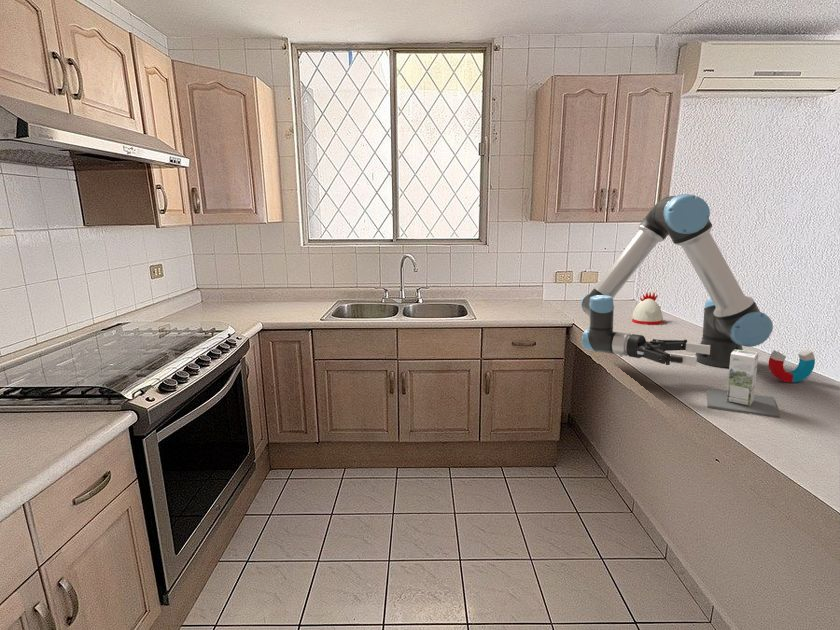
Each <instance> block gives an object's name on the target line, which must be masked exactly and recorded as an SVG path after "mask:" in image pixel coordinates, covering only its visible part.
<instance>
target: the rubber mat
mask: <svg viewBox="0 0 840 630" xmlns="http://www.w3.org/2000/svg"><path fill="white" fill-rule="evenodd" d="M706 389H707V390H706V401H707V404H706V405H707V406H706V407H707V409H714V408H715V409H716V410H721V409H723V410H722V411H728V410H730V412H735V411H737V413H742V412H743V414H749V413H752V414H751V415H756V414H757V416H764V417H772V418H780V414H779V410H778V408H777V406H776V405H777V404H776V402H775V399H774V397H773V396H771V395H770V396H769V395H761V394H754V400H753V402H752V404H751V405H750V406H746V405H741V404H736V403H731V402H727V390H720V389H714V388H713V389H711V388H706Z"/></svg>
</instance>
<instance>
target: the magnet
mask: <svg viewBox="0 0 840 630" xmlns="http://www.w3.org/2000/svg"><path fill="white" fill-rule="evenodd" d="M797 355H798V357H799V359H798V360H799V361H798V364H797V366H796V367H795V368H794V369H793V370H791V371H786V370H785V368H784V363H785V360H786V359H787V356H786V355H784V354H783V353H781V352H780V351H777V350H775V349H774V350H773V351H772V352H771V354H770V355H769V358H768V368H769V371H770V373H771V374H772V376H773V377H775V378H776V379H779V380H780V381H782V382H785V383H789V382H794V383H798V382H802V381H803V380H805V379H807V378H808V377H809V376H810V375H811V374H812V373H813V370H814V368H815V364H816V358H815V354H814V353H813V351H811V350H809V349H804V350H802V351H801V352H799V353H798V354H797Z"/></svg>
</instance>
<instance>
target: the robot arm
mask: <svg viewBox="0 0 840 630" xmlns="http://www.w3.org/2000/svg"><path fill="white" fill-rule="evenodd" d="M710 215H711V211H710V207H709V204H708V203H707V201H705V199H703V198H702V197H700V196H698V195H694V194H689V193H684V194H678V195H671V196H666V197H664V198H661V199H660V200H659V201H657V203H655V205H653V206H652V208H651V209H650V211H648V213H646V216H645V217H644V218H643V220H642V221H641V222H640V223H639V224H638V231H637V232H636V233H635V235H634V236H633V238H632V239H631V240H630V241H629V242H628V244H627V245H626V246H625V248H624V249H623V250H622V252H620V254H619V255H618V257H617V258H616V259H615V261H614V262H613V263H612V264H611V266H610V267H609V268H608V270H607V271H606V272H605V273H604V275H602V277H601V279H600V280H599V281H598V283H597V284H596V285H595V287H593V289H592V290H591V291H590V293H588V294H585V295H584V296H583V297H582V299H581V302H580V305H581V308H582V310H583V312H584V313H585V314H586V315H587V316H588V317H589V328H586V329H585V330H584V331H583V332H582V337H581V345H582V347H583V349H585V350H587V351H588V350H589V351H591V352H597V353H604V354H611V355H612V354H613V355H617V356H618V355H619V357H623V356H626V357H630V358H637V359H642V358H644V359H647V360H651V361H653V362H656V363H658V364H662V365H664V364H665V365H666V366H670V365H671V363H672V364H677V365H685V366H689V367H691V366H692V367H697V363H698V362H699V363H701V364H703V365H707V366H712V367H717V368H729V367H730V356H731V353H732V352H733V350H735V349H736V350H744V348H743V347H748V348H750V347H757V346H759V345H761V344H763V343H765V342H766V341H767V340H768V339H769V338H770V336H771V334H772V332H773V329H774V325H773V321H772V319H771V317H769V316H768V315H767V314H766V313H764V312H761V310H760V309H759V307H758V306H757V304H756V302H755V300H754V297H750V296H747V295H745V293H744V291H743V289H742V288H741V286H740V284H739V283H738V281H737V279H736V277H735V276H734V273H733V272H732V270H731V267H730V266H729V265H728V263H727V261H726V258H725V257H724V255H723V254H722V252H721V250H720V248H719V246H718V244H717V242H716V241H715V239H714V237H713V236H712V234H711V231H712V228H713V226H714V225H713V224H712V222H711V220H710ZM668 236H669V237H670V239H671V241H672V243H673V245H677V246H681V248H682V250H683V251H684V253H685V255H686V257H687V259H688V261H689V262H690V264H691V266H692V267H693V269H694V271H695V273H696V275H697V276H698V278H699V280H700V282H701V283H702V284H703V287H704V289H705V290H706V293H707V294H708V296H709V299H706V301H705V303H704V308H703V325H702V337H701V341H700V343H694V342H688V339H683V340H682V339H681V340H680V339H656V338H653V339H652V340H649V341H647V340H646V337H645V335H643V334H634V333H633V334H631V333H627V332H618V331H614V310H615V305H614V298H615V297H616V296H617V294H618V293H619V292H620V291H621V289H622V288H623V287H624V285H625V284H627V282H628V280H629V279H631V277H632V276H633V274H634V273H635V272H636V271H637V269H638V268H639V267H640V265H641V264H642V263H643V262H644V260H646V258H647V257H648V256H649V255H650V253H651V251H653V250H654V248H655V247H656V245H657V244H658V243H660V242H661V243H662V242H663V241H664V240H665V239H666V238H667V237H668ZM668 351H671V353H669V352H668ZM672 351H673V352H672ZM674 351H685V352H689V353H694V354H695V355H687V354H681V353H674Z"/></svg>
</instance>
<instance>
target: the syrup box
mask: <svg viewBox="0 0 840 630" xmlns="http://www.w3.org/2000/svg"><path fill="white" fill-rule="evenodd" d="M758 362H759V352H758V351H751V350H744V349H743V350H736V349H735V350H733V352H732V353H731V356H730V367H728V368H729V370H728V380H727V390H726V391H727V402H731V403H736V404H741V405H746V406H750V405H751V404H752V402H753V400H754V395H755V389H756V381H757V380H756V379H757V371H758Z"/></svg>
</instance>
